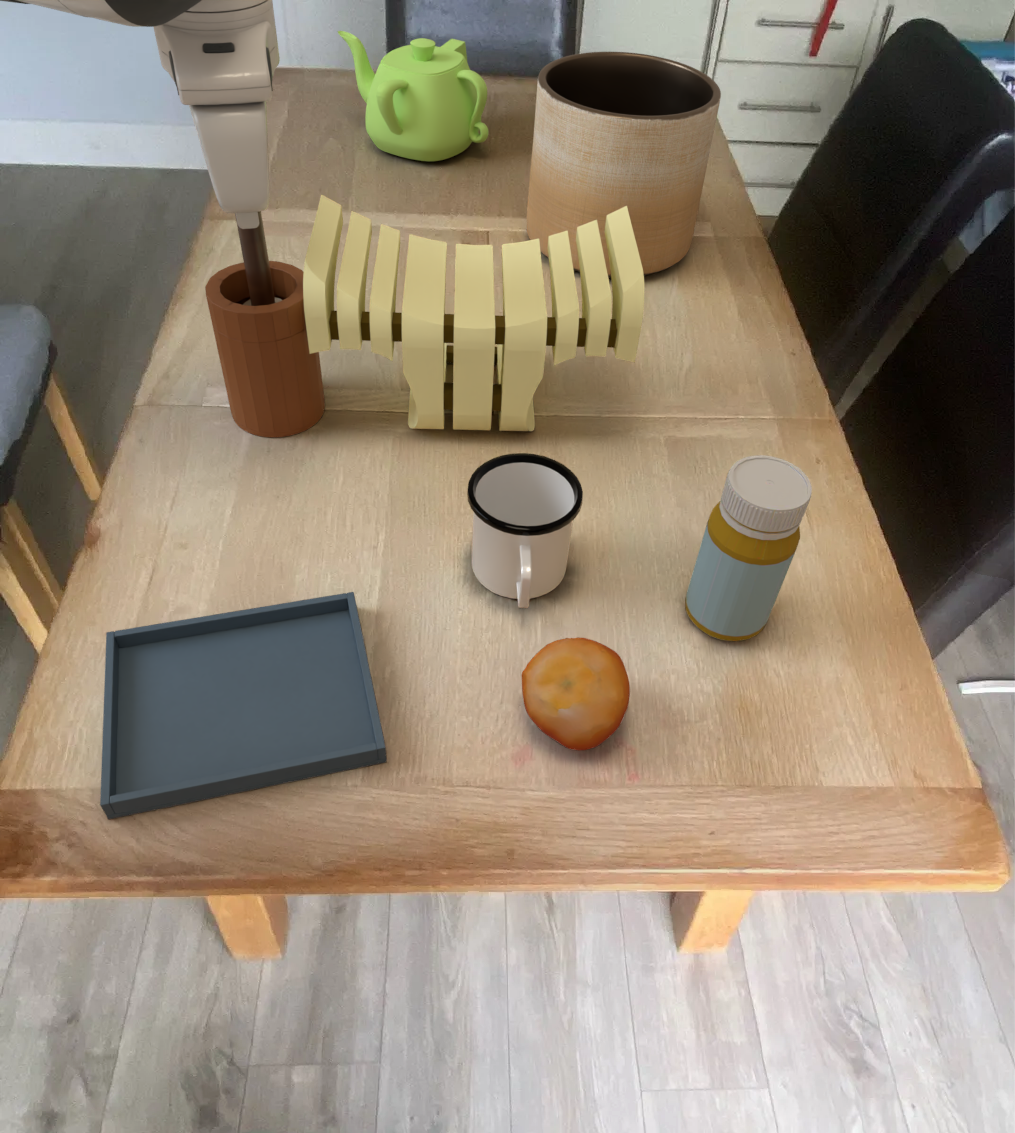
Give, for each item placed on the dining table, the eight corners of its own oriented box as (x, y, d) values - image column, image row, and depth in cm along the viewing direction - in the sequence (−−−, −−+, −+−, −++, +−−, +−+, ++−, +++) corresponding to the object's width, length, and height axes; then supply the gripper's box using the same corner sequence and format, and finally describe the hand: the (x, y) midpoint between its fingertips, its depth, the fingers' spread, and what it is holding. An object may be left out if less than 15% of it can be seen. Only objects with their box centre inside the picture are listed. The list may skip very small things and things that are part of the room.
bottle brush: (250, 369, 87) (212, 170, 73) (247, 343, 90) (210, 148, 76) (297, 363, 88) (268, 167, 74) (292, 339, 90) (263, 145, 77)
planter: (652, 199, 131) (678, 46, 116) (716, 276, 117) (755, 113, 102) (506, 210, 126) (514, 53, 111) (554, 292, 112) (570, 124, 97)
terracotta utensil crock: (235, 443, 89) (207, 318, 79) (229, 387, 95) (203, 264, 85) (330, 431, 91) (316, 307, 81) (319, 377, 97) (304, 256, 87)
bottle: (667, 613, 77) (704, 480, 66) (713, 571, 81) (755, 439, 70) (736, 659, 74) (786, 529, 63) (780, 613, 78) (835, 482, 67)
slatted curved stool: (321, 441, 90) (299, 278, 77) (337, 350, 101) (321, 194, 88) (619, 448, 92) (648, 289, 79) (603, 358, 103) (626, 205, 90)
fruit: (662, 689, 70) (645, 667, 62) (602, 774, 69) (578, 761, 62) (580, 633, 73) (555, 606, 66) (522, 713, 72) (491, 694, 65)
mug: (465, 526, 83) (467, 450, 76) (568, 529, 83) (578, 453, 77) (464, 628, 75) (466, 553, 68) (578, 630, 75) (591, 555, 69)
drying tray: (108, 819, 62) (99, 805, 60) (113, 647, 72) (106, 631, 70) (386, 762, 66) (385, 747, 64) (355, 607, 76) (353, 591, 74)
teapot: (499, 163, 137) (503, 59, 126) (368, 174, 132) (361, 67, 121) (465, 115, 149) (466, 16, 138) (344, 124, 144) (336, 22, 133)
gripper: (171, -3, 74) (204, 166, 84) (176, 89, 61) (215, 277, 71) (249, -5, 76) (273, 162, 86) (272, 85, 62) (296, 270, 72)
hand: (247, 215), depth 78 cm, fingers closed on bottle brush, 2 cm apart
